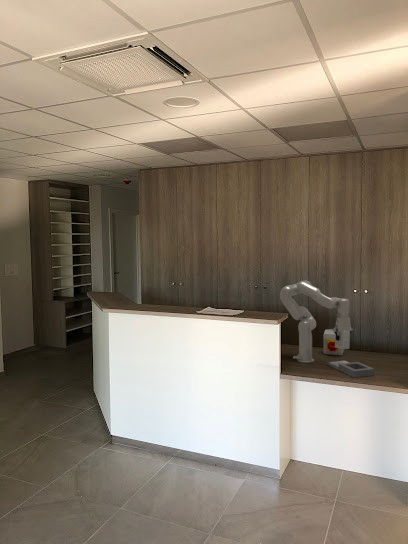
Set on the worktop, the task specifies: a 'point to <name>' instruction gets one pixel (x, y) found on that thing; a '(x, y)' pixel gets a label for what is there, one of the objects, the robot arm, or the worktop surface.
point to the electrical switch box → (331, 343)
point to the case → (353, 368)
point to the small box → (343, 340)
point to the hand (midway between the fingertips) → (342, 339)
